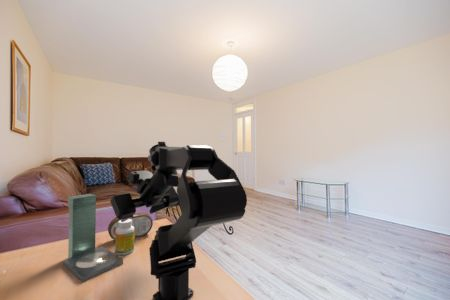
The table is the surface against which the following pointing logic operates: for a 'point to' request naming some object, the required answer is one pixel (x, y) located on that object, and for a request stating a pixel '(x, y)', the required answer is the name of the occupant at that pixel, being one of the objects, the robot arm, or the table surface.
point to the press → (86, 240)
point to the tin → (139, 222)
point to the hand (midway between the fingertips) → (136, 216)
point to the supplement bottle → (124, 237)
